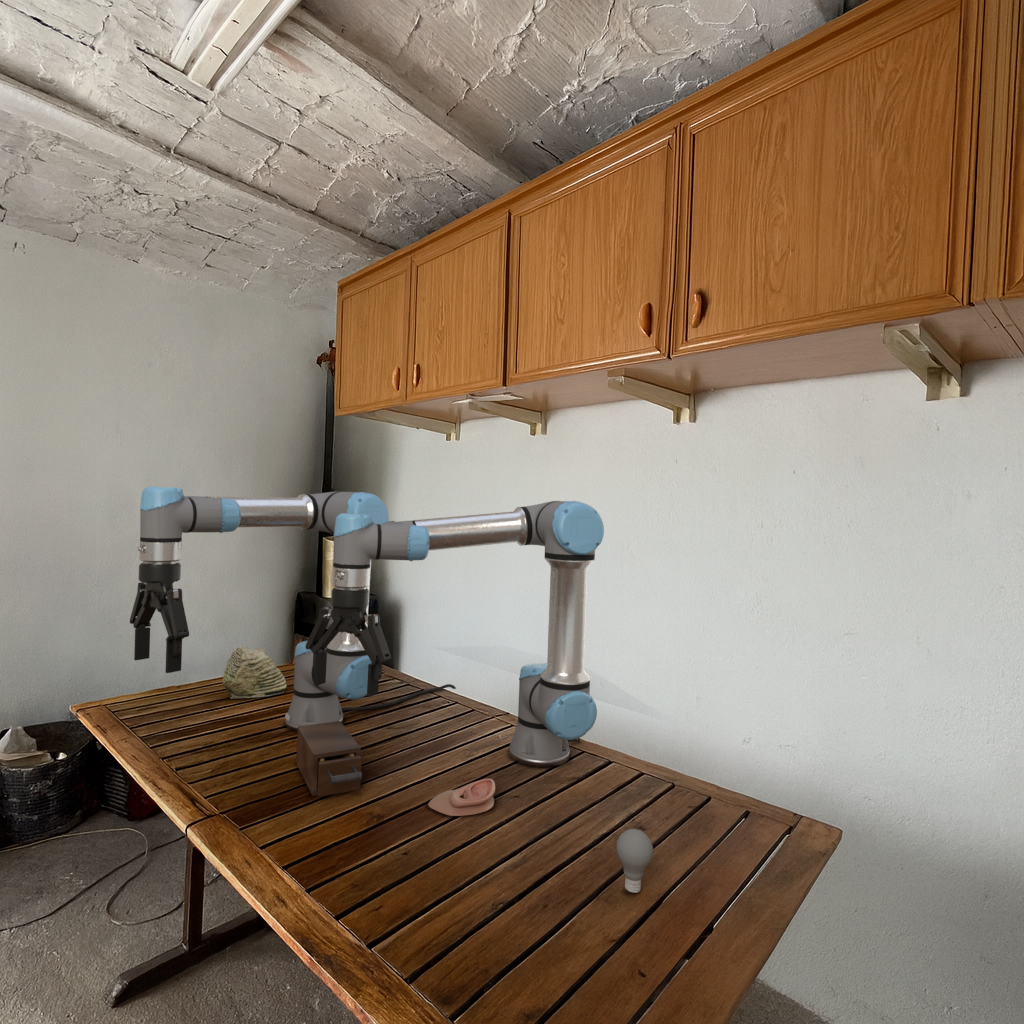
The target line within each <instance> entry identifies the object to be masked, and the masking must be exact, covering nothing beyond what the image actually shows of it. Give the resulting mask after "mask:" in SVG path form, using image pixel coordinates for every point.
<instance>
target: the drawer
mask: <svg viewBox="0 0 1024 1024" xmlns="http://www.w3.org/2000/svg"><path fill="white" fill-rule="evenodd" d="M362 780H363V772H362V756H361V755H360V756H354V754H353V753H348V754H342V755H336V756H329V757H323V758H318V770H317V785H318V789H317V795H316V796H317V797H318V798H321V797H327V796H332V795H338V794H342V793H343V794H344V793H347V792H354V791H358V790H361V782H362Z"/></svg>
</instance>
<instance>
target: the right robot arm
mask: <svg viewBox="0 0 1024 1024" xmlns="http://www.w3.org/2000/svg"><path fill="white" fill-rule="evenodd" d="M604 535H605V525H604V521H603V519H602V516H601V514H600V513H599V512H598V511H597V510H596V509H595V508H594V507H593V506H592V505H590V504H587V503H585V502H581V501H576V500H551V501H546V502H542V503H538V504H533V505H532V504H531V505H527V506H517V507H516V508H515V509H514V510H513V511H503V512H492V513H479V514H471V515H470V514H469V515H458V516H447V517H435V518H434V517H433V518H423V519H413V520H402V521H401V520H400V521H395V520H389V521H388V522H385V523H383V524H374V523H373V520H372V516H371V515H369V514H355V513H341V514H339V515H338V516H337V517H336V523H335V533H333V538H334V542H333V555H332V576H331V578H332V580H331V585H332V586H333V588H332V589H331V594H330V595H331V598H330V605H331V606H324V607H320V608H319V611H318V618H317V620H316V622H315V624H314V626H313V629H312V631H311V633H310V634H309V637H308V639H307V640H306V641H307V643H306V646H305V647H306V649H310V650H311V651H312V653H313V668H315V676H314V685H316V686H318V685H320V684H323V683H326V663H327V652H322V651H325V650H324V649H325V648H326V647H327V646H328V645H329V643H330V642H331V641H332V640H333V638H334V637H335V636H336V635H337V634H338V632H346V633H348V634H354V635H355V637H357V638H358V639H359V641H360V643H361V644H362V646H363V648H364V650H365V651H366V653H367V655H368V657H369V658H370V660H371V662H372V663H371V664H368V682H367V695H366V697H368V698H371V697H373V696H375V695H378V694H379V681H380V680H381V679H382V677H383V664H384V663H386V662H389V661H391V660H392V655H391V652H390V649H389V646H388V643H387V640H386V637H385V634H384V631H383V628H382V625H381V616H380V614H379V613H372V614H368V615H367V612H366V609H367V606H368V607H369V605H368V599H369V600H370V589H369V590H368V589H367V588H366V587H368V586H369V582H370V583H371V573H370V561H371V562H372V560H375V561H378V560H385V561H388V560H389V561H409V562H413V561H424V560H426V559H427V557H428V555H429V552H430V551H440V550H441V551H442V550H450V549H461V548H470V547H471V548H472V547H481V546H490V545H491V546H493V545H500V544H511V543H516V544H518V545H519V546H521V547H522V546H523V547H524V546H540V547H544V560H545V561H546V562H547V563H548V565H549V566H550V573H549V574H550V575H549V604H548V605H549V606H548V627H547V629H548V630H547V656H546V657H547V658H546V659H547V660H546V662H544V663H542V662H541V663H528V664H524V665H523V666H521V668H520V671H519V677H518V681H519V684H518V705H517V706H518V709H517V723H516V727H515V729H514V732H513V734H512V735H513V736H512V737H511V740H510V743H509V750H508V751H509V752H508V753H509V756H510V758H511V759H513V760H514V761H515V762H516V763H517V762H518V763H519V764H522V765H524V766H525V765H526V766H530V767H536V768H550V767H558V766H561V765H563V764H565V763H567V762H568V761H569V759H570V751H571V750H570V749H571V748H570V746H569V743H575V742H581V738H582V737H583V736H585V735H587V733H588V732H589V731H590V730H591V729H593V727H594V725H595V723H596V720H597V717H598V716H597V715H598V708H597V704H596V702H595V700H594V697H592V695H591V694H590V693H591V692H590V690H591V677H590V675H589V674H588V673H587V672H586V670H585V650H586V649H585V648H586V647H585V645H586V625H587V624H586V623H587V622H586V621H587V619H586V618H587V599H588V598H587V596H588V595H587V594H588V593H587V592H588V569H589V567H590V566H591V565H592V564H593V563H594V562H595V559H596V550H597V549H598V547H599V546H601V544H602V542H603V539H604ZM331 619H332V622H331V623H330V620H331ZM366 621H367V622H366ZM365 622H366V624H367V626H366V624H365ZM329 623H330V625H329ZM328 625H329V626H328ZM360 629H361V631H360ZM577 739H578V740H577Z"/></svg>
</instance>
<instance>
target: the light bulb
mask: <svg viewBox="0 0 1024 1024" xmlns="http://www.w3.org/2000/svg"><path fill="white" fill-rule="evenodd" d="M615 849H616V854H617V857H618V859H619V861H620V863H621V865H622V867H623V873H624V874H623V875H624V876H625V878H624V888H625V890H627V891H628V892H630V893H634V894H635V893H639V892H640V891H641V889H642V887H641V886H642V879H643V877H644V875H645V871H646V868H647V867H648V866H649V864H650V863H651V861H652V859H653V855H654V847H653V843H652V841H651V838H649V836H648V835H647V834H646V833H645V832H643V831H642V830H641V829H636V828H629V829H627V830H625V831H623V832H622V833H621V834H620V835H619V837H618V839H617V841H616V847H615Z"/></svg>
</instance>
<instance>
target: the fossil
mask: <svg viewBox="0 0 1024 1024" xmlns="http://www.w3.org/2000/svg"><path fill="white" fill-rule="evenodd" d="M222 676H223V677H222V685H223V687H224V688H225V690H226V691H228V693H229V698H230V699H250V698H264V697H271V696H275V695H281V694H284V693H285V691H286V689H287V687H288V686H287V680H286V678H285V676H284V674H283V673H282V672H281V669H279V668H278V667H277V665H276V663H275V662H274V660H273V659H272V658H271V657H270V656H269V655H268V654H267V653H266V652H265V650H264V649H263V648H260V647H258V648H251V647H247V646H246V647H245V646H238V647H237V648H236V649H235V650H233V651H232V653H231V656H230V657H229V659H228V660H227V663H226V666H225V668H224V671H223V675H222Z"/></svg>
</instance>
